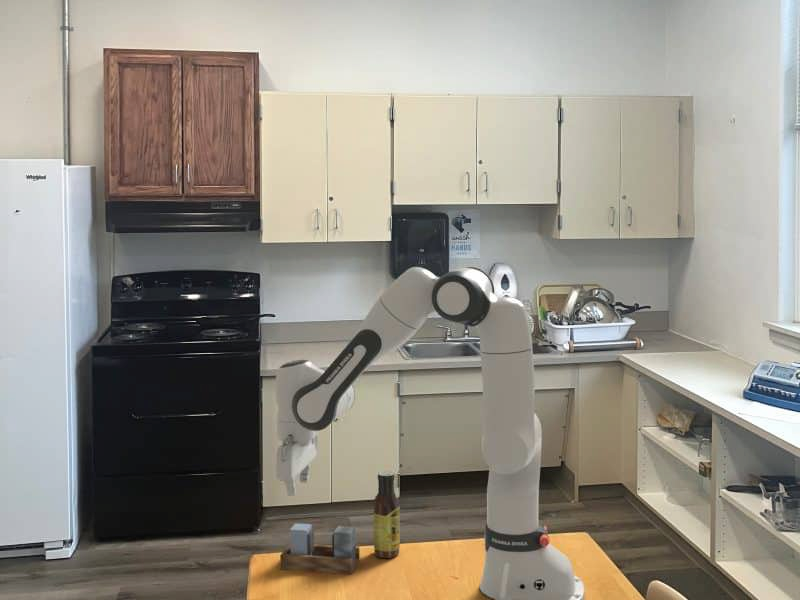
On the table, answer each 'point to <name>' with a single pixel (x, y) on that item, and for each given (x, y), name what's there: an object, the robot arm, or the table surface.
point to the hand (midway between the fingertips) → (298, 488)
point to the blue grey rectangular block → (302, 539)
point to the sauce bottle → (386, 518)
